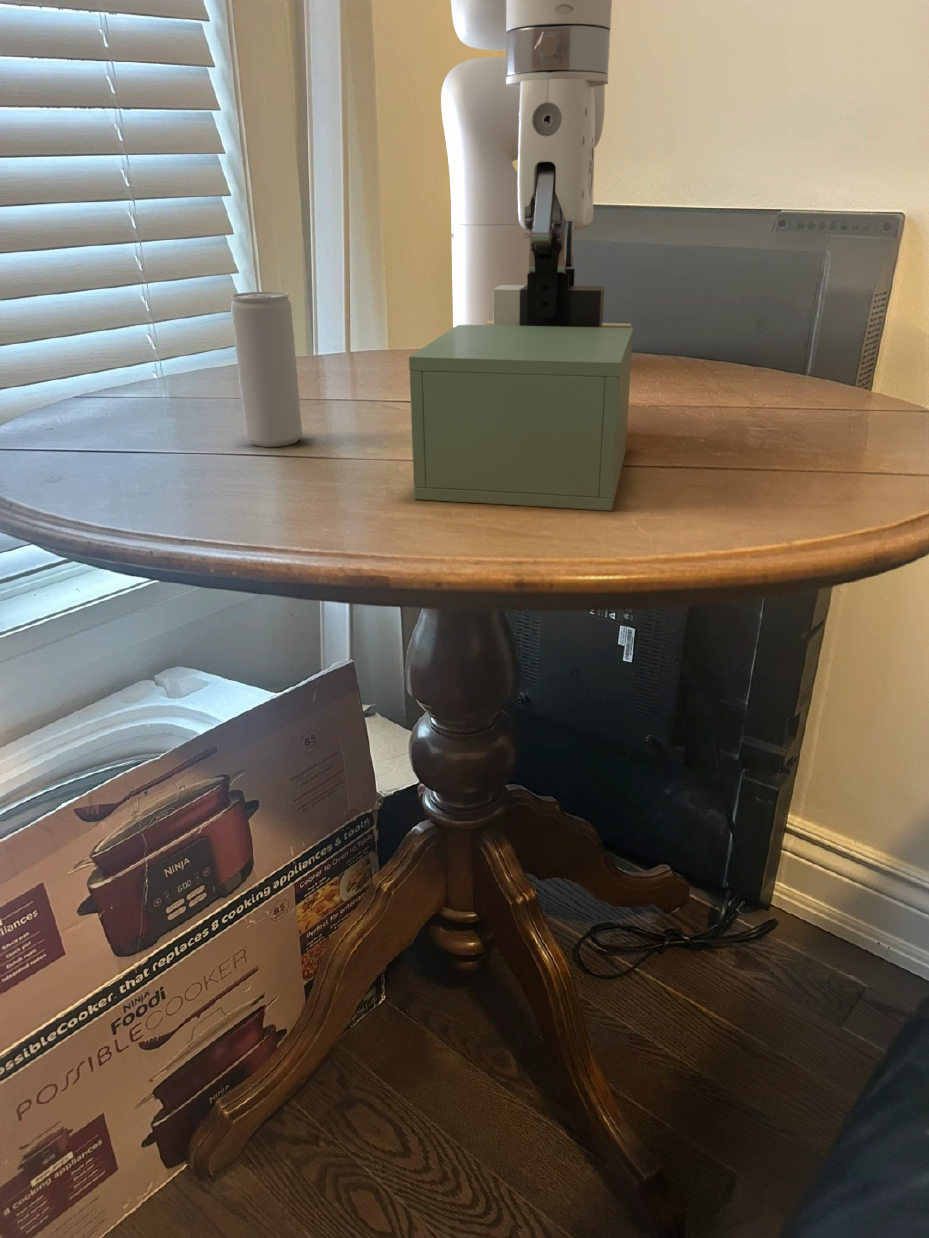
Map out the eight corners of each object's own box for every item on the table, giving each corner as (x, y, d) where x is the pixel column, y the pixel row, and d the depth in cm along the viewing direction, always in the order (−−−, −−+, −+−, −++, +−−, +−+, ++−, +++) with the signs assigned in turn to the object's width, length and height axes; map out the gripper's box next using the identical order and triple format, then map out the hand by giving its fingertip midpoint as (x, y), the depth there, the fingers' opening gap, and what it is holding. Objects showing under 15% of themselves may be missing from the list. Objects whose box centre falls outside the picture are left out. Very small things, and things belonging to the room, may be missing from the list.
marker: (602, 327, 77) (604, 286, 75) (599, 333, 74) (601, 290, 72) (500, 325, 78) (500, 285, 77) (492, 330, 75) (492, 289, 74)
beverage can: (290, 449, 77) (276, 298, 72) (237, 447, 78) (219, 298, 73) (310, 435, 82) (298, 291, 77) (259, 432, 83) (244, 291, 77)
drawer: (497, 399, 90) (497, 314, 86) (628, 403, 87) (634, 316, 84) (455, 448, 74) (453, 346, 70) (614, 455, 71) (621, 350, 68)
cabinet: (459, 445, 78) (458, 324, 74) (625, 452, 75) (633, 328, 71) (413, 499, 65) (408, 356, 61) (611, 511, 62) (620, 362, 58)
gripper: (599, 47, 60) (586, 340, 68) (616, 71, 74) (604, 311, 82) (485, 51, 61) (485, 338, 69) (524, 75, 76) (520, 309, 84)
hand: (550, 320), depth 76 cm, fingers closed on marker, 3 cm apart
